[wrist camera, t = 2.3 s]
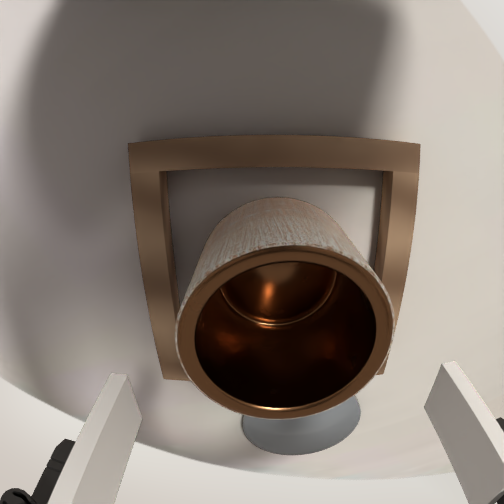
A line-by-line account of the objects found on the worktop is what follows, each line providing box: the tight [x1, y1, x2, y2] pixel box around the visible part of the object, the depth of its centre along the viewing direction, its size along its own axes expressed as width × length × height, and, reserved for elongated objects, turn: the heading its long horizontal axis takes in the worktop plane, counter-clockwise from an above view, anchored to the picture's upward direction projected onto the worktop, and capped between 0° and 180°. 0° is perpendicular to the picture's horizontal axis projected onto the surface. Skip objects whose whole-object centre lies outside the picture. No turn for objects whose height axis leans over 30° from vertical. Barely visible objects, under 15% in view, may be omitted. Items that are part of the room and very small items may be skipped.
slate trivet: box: [243, 395, 361, 455], centre depth 29 cm, size 12×12×1 cm
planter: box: [175, 197, 395, 420], centre depth 19 cm, size 11×11×10 cm
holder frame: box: [128, 135, 420, 381], centre depth 23 cm, size 19×19×2 cm
